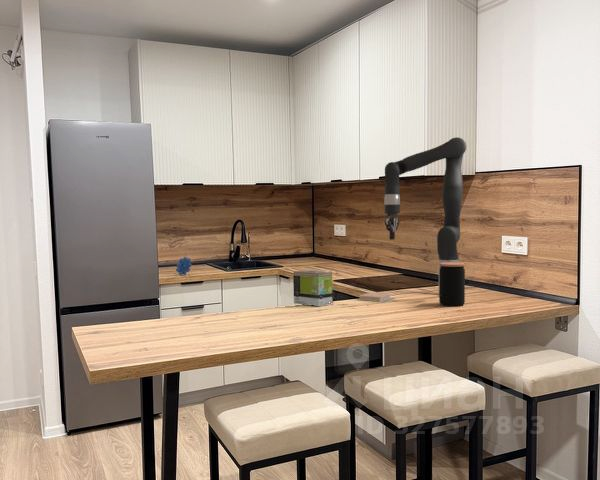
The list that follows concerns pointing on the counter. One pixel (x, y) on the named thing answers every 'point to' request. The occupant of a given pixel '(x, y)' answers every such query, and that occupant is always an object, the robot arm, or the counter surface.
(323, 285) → the tea box
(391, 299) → the slate board
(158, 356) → the counter surface
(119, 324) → the counter surface
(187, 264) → the grapes
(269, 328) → the counter surface
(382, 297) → the tile
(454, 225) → the robot arm
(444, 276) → the coffee jar
